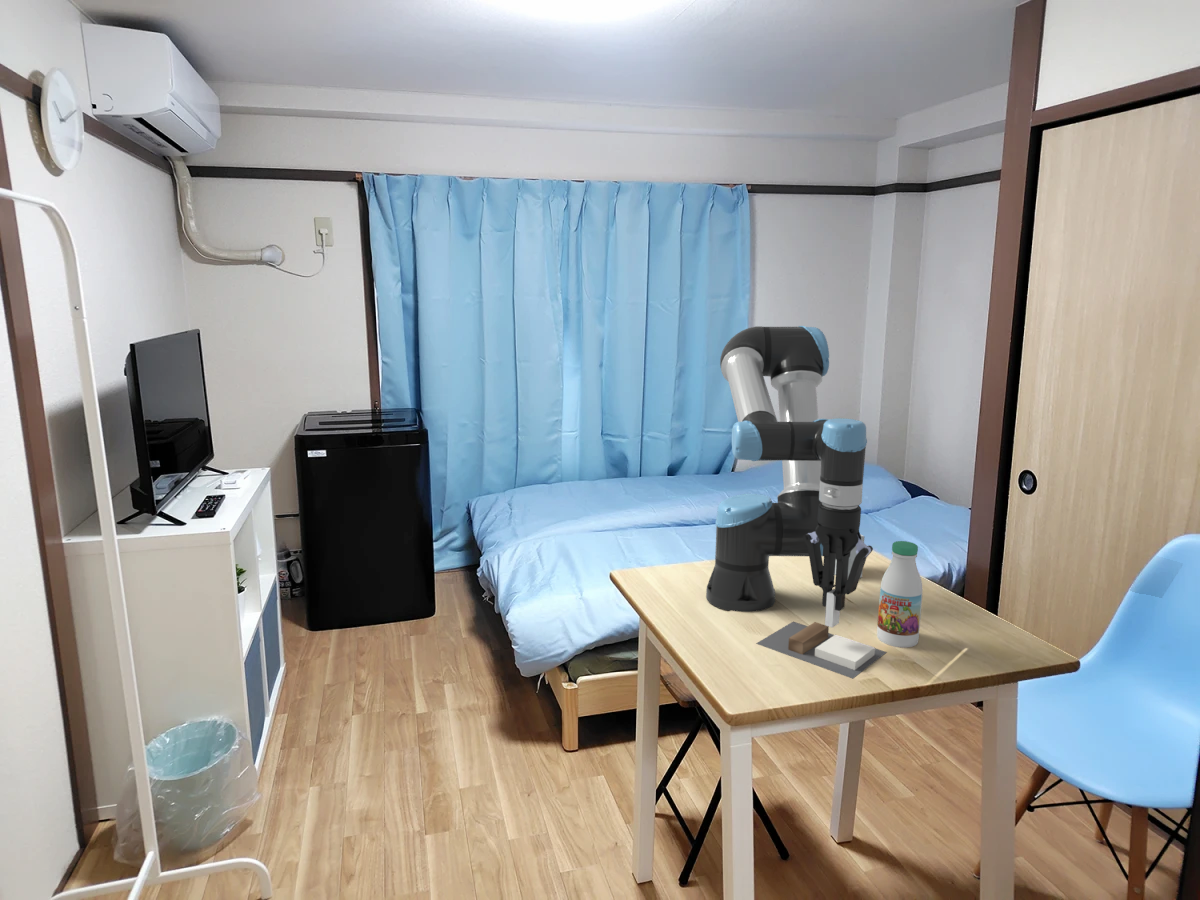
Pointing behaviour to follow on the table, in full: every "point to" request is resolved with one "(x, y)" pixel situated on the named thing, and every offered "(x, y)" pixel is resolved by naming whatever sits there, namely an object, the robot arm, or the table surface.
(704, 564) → the table surface
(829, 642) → the tile
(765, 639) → the mat
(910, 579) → the milk bottle
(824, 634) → the block
